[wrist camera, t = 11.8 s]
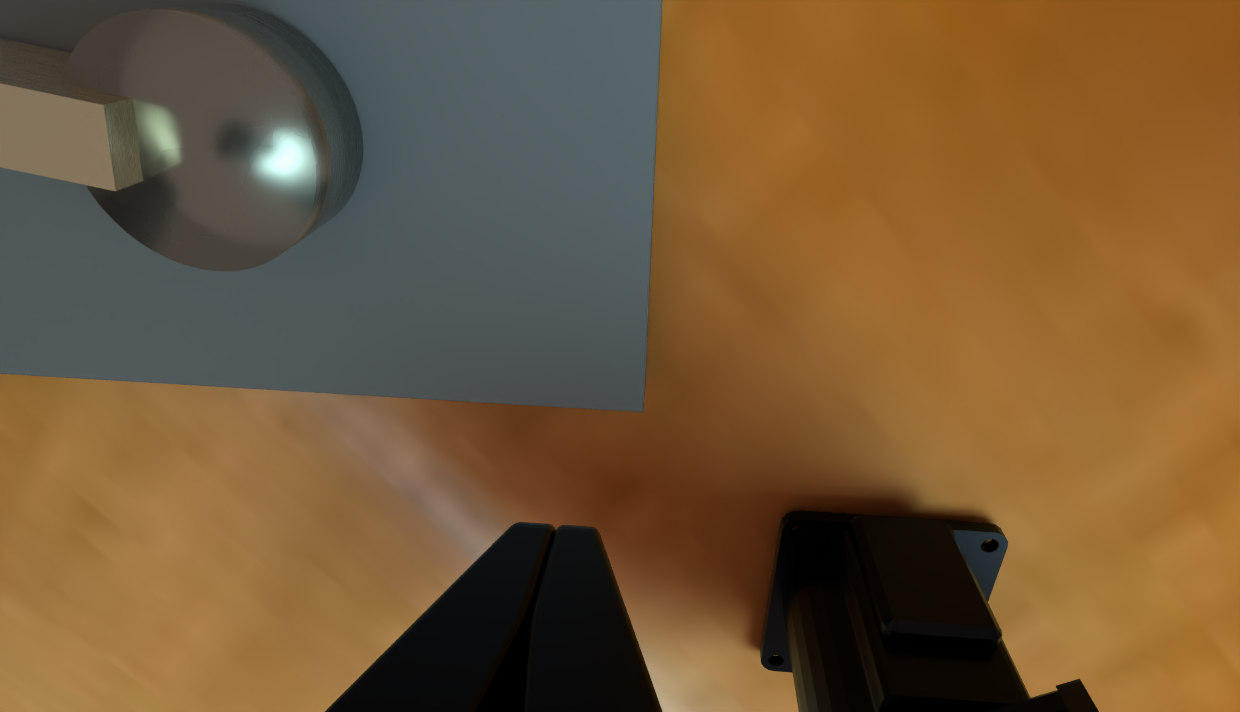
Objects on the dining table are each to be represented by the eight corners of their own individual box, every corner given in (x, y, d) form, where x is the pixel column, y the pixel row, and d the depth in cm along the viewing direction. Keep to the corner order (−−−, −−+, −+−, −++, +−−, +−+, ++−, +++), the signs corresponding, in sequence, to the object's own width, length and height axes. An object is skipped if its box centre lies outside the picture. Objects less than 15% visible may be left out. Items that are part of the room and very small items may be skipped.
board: (645, 389, 20) (640, 433, 18) (-97, 346, 22) (-174, 383, 20) (687, -561, 12) (688, -666, 10) (-534, -542, 13) (-745, -631, 11)
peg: (366, 32, 15) (294, 45, 12) (360, 254, 18) (299, 308, 15) (-236, -97, 15) (-451, -114, 12) (-159, 146, 17) (-324, 180, 14)
